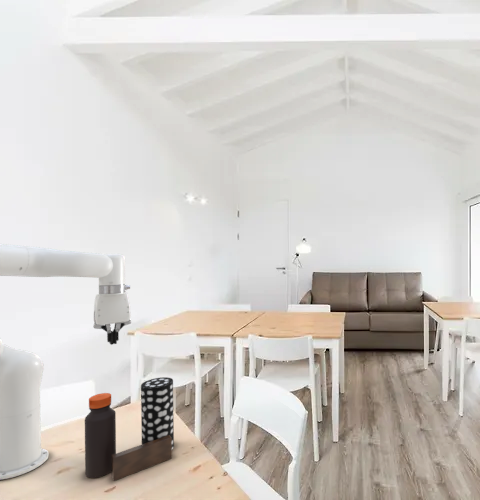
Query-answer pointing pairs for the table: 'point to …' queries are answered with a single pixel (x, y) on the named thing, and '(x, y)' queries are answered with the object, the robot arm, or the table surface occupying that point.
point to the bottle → (99, 436)
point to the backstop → (141, 457)
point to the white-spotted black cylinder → (157, 409)
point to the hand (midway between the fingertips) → (113, 343)
